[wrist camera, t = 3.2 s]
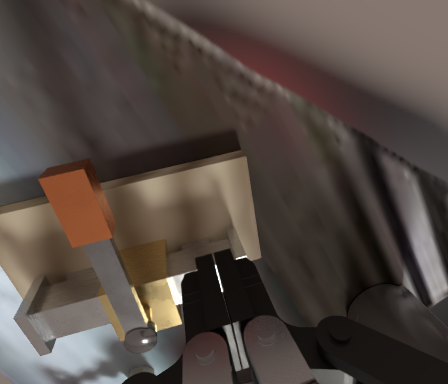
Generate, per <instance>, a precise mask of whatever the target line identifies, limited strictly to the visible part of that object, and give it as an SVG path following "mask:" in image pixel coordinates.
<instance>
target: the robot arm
mask: <svg viewBox="0 0 448 384" xmlns="http://www.w3.org/2000/svg"><path fill="white" fill-rule="evenodd" d="M213 254H214V258H215V262H216V266H217V271H218V275H219V279H220V282H219V279H218V275H217V271H216V267H215V263H214V260H213V256H212V253H210V254H206V255H203V256H199V257H195V263H196V268H197V270H196V271H193V272H189V273H185V275H184V277H183V280H182V282H181V293H182V303H183V313H184V323H185V333H186V346H185V348H184V351H183V354H182V355H181V357H180V358H179V359H178V361H177V362H176V363H175V364H174V365H172V366H171V367H170V368H168V369H167V370H165V371H163V372H162V373H160V374H159V375H157V376H156V375H154V374H153V373H150V372H140V373H137V374H134V375H132V376H131V377H129V378H128V379H126V380H125V381H124V382H123V383H122V384H239V382H238V378H237V374H236V371H239V370H241V366H240V362H239V358H238V353H237V349H236V345H235V341H234V337H233V332H234V336H235V340H236V344H237V347H238V351H239V355H240V359H241V362H242V366H243V369H245V368H248V367H249V369H250V372H251V376H252V379H253V383H254V384H448V328H447V327H446V326H445V325H444V324H443V323H442V322H441V321H440V320H439V319H438V318H437V317H436V316H435V315H434V314H433V313H431V311H430V310H429V309H428V308H427V307H426V306H424V305H423V304H422V303H421V302H420V301H419V300H418V299H417V298H416V297H415V296H414V295H413V294H412V293H411V292H410V291H409V290H408V289H407V288H406V287H405V286H404V285H400V286H395V285H392V284H380V285H377V286H373V287H371V288H369V289H367V290H365V291H364V292H362V293H361V294H360V295H359V296H357V298H356V299H355V300H354V301H353V302H352V304H351V305H350V307H349V310H348V315H347V316H348V318H346V317H343V316H329V317H326V318H324V319H323V320H321V321H320V322H319V324H318V325H317V327H296V326H292V325H289V324H287V323H285V322H284V321H283V320H282V319H280V318H279V316H278V315H277V313H276V311H275V309H274V307H273V305H272V302H271V300H270V298H269V296H268V293H267V291H266V289H265V287H264V284H263V283H262V280H261V278H260V275H259V273H258V271H257V269H256V266H255V264H254V263H253V262H252V261H250V260H249V259H248V258H247V257H244V258H240V259H236V260H234V257H233V254H232V251H231V249H230V248H229V249H225V250H221V251H217V252H214V253H213ZM220 283H221V286H220ZM221 287H222V290H221ZM222 291H223V294H222ZM223 295H224V298H223ZM224 299H225V301H224ZM225 302H226V305H225ZM226 306H227V309H226ZM227 310H228V313H227ZM228 314H229V317H230V320H229V317H228ZM230 321H231V324H230ZM231 325H232V328H231ZM232 329H233V332H232Z"/></svg>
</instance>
